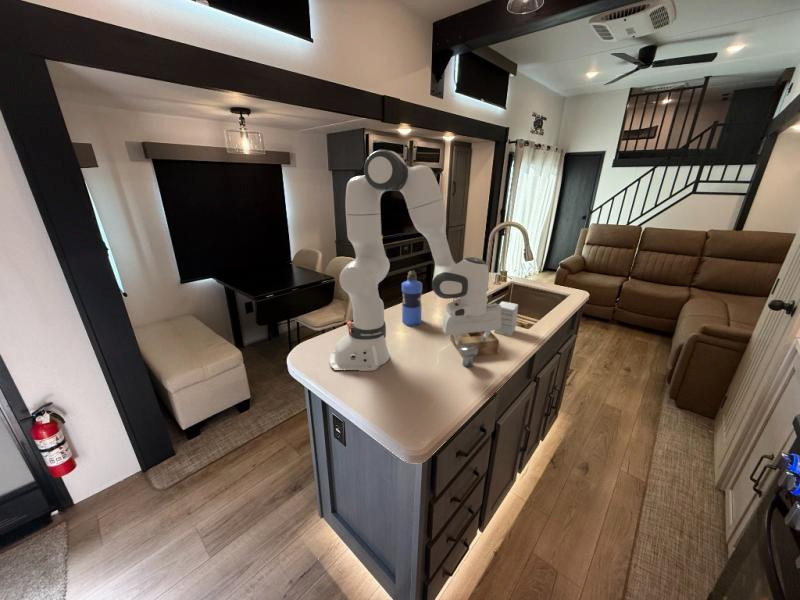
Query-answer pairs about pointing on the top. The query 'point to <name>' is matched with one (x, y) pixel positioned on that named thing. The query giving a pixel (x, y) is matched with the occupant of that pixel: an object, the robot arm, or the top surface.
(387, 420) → the top surface
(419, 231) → the robot arm
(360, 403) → the top surface
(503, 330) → the supplement box
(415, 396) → the top surface
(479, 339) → the block
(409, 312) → the water bottle
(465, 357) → the grey light bulb
